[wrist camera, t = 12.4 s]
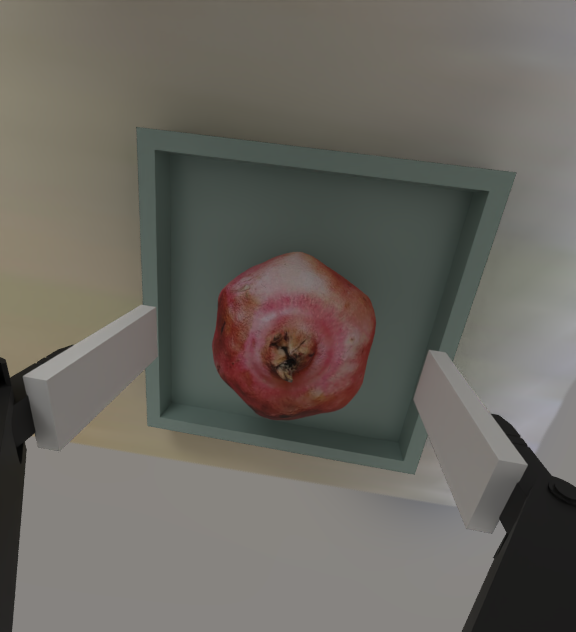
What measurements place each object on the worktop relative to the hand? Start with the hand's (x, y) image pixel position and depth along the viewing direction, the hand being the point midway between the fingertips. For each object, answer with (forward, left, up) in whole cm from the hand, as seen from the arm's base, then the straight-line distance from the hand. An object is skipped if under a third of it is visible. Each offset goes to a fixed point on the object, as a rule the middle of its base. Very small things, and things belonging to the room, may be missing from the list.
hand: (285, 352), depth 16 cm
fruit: (0, 0, -7) cm, 7 cm away
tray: (0, 0, -8) cm, 7 cm away
